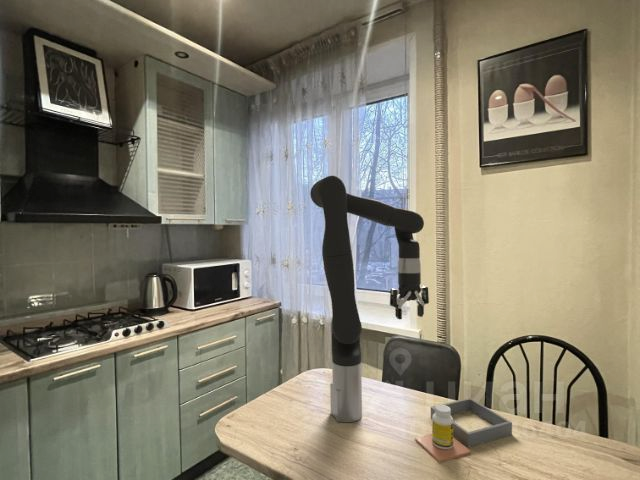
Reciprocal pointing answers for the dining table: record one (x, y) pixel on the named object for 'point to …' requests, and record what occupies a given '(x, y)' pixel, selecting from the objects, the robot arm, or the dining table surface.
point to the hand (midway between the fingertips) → (409, 317)
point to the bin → (479, 436)
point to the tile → (439, 453)
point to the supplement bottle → (442, 427)
